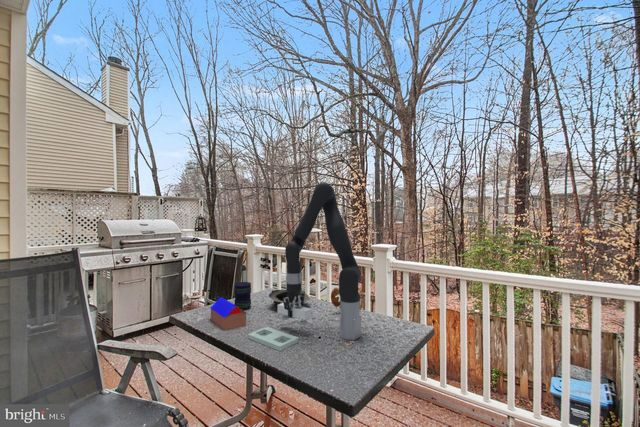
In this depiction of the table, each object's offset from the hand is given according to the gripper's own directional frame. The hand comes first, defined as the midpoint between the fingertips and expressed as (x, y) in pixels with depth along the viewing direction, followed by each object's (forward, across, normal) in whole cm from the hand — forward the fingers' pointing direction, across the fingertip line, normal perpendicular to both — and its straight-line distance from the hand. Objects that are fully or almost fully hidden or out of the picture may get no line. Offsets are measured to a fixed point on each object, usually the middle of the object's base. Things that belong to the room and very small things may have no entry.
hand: (294, 315), depth 156 cm
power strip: (+2, 0, 0) cm, 2 cm away
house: (+7, -13, +36) cm, 39 cm away
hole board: (+7, -14, +1) cm, 16 cm away
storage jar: (+7, +7, +48) cm, 50 cm away
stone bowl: (+8, +27, +28) cm, 40 cm away
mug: (+8, +37, -5) cm, 38 cm away
